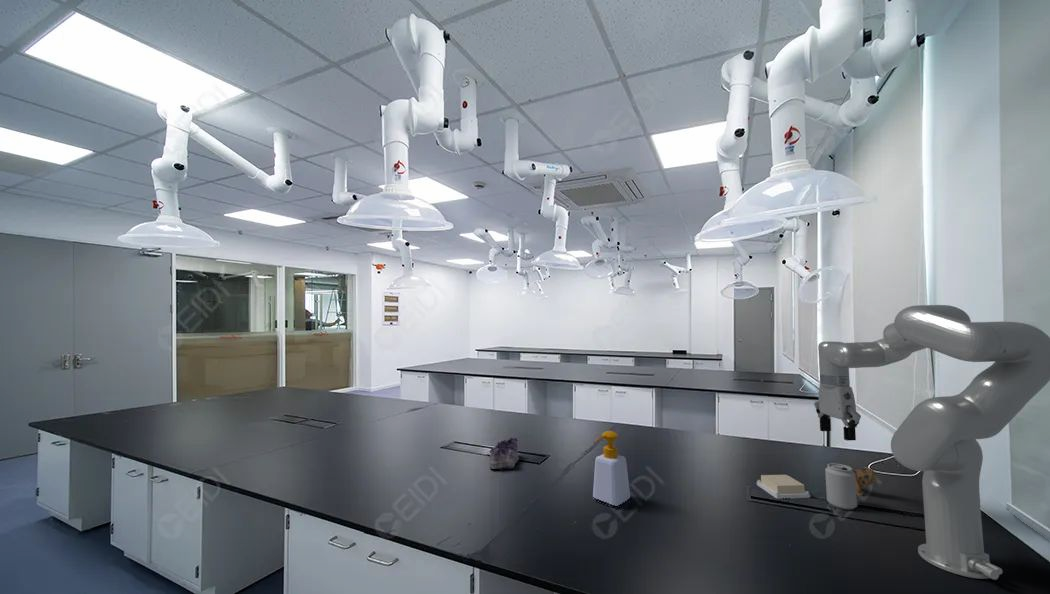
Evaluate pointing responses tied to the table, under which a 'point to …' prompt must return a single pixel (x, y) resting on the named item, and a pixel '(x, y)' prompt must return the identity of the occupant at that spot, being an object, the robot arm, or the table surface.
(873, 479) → the lion figurine
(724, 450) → the table surface
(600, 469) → the soap bottle
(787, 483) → the tower base
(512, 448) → the geode
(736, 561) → the table surface
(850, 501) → the can
